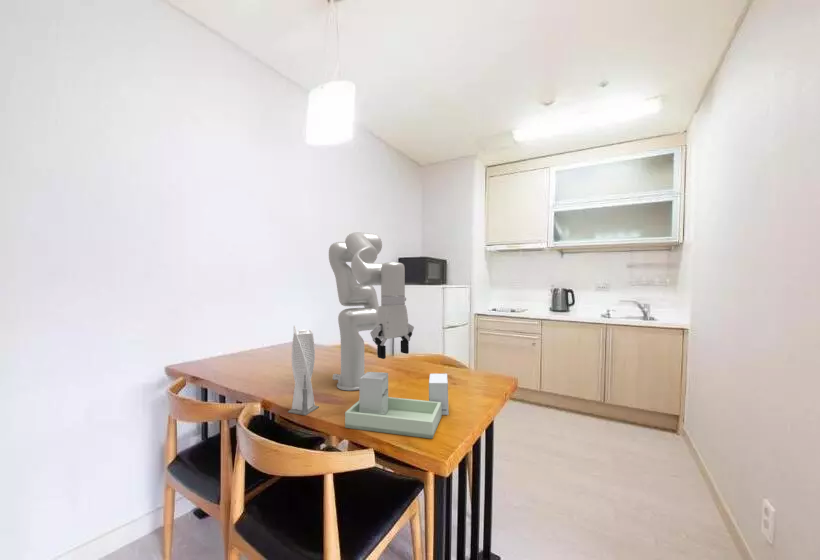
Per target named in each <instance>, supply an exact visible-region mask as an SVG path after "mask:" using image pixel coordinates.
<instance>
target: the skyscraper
mask: <svg viewBox="0 0 820 560" xmlns="http://www.w3.org/2000/svg"><path fill="white" fill-rule="evenodd" d="M291 343H292V344H291V368H292V370H291V371H292V375H293V379H294V387H293V388H294V390H293V397H292V404H291V409H290V410H288V411H287V413H289V414H295V415H300V416H308V415H309V414H311V413H312V412H314V411H315V410H317V409H318V408H319V407H320V406H319V405H316V404H315V403H316V402H315V398H314V392H313V384H312V376H313V373H314V366H315V359H316V349H315V339H314V332H313V330H312V329H311V328H310V329H309V330H308V329H299V330H297V326H296V325H293V335H292V342H291ZM310 412H311V413H310Z"/></svg>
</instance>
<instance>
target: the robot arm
mask: <svg viewBox="0 0 820 560" xmlns="http://www.w3.org/2000/svg"><path fill="white" fill-rule="evenodd" d="M382 249H383V241H382V239H381V237H380V236H379V235H378V234H377V233H368V232H352V233H349V234H348V235H347V236H346V238H345V241H338V242H333V243H331V245H330V246H329V248H328V260H329V265H330V268H331V270H332V272H333V274H334V277H335V283H336V284H335V285H336V290H337V291H336V292H337V297H338V301H339V303H340V305H341V306H343V307H349V308H345V309H343V310H341V311H340V312H339V313H338V316H337V317H338V318H337V319H338V320H337V322H338V327H339V335H340V374H338V373H333V374H332V380H333V381H337V383H336V387H337V389H339V390H343V391H347V392H348V391H349V392H350V391H359V378H361V377H362V376H363V375H364V374H365V340H364V338H363V337H362V336H361V335H360V333H359V332H364V331H365V332H366V331H370V333H369V334H370V336H371V338H372V341H373V342H374V344H375V345H376V349H377V354H376V355H377V358H378V359H382V360H385V359H386V358H387V357H386V356H387V353H386V352H387V351H386V350H387V349H386V348H387V346H386V345H385V344H386V342H387V341H388V340H390V339H396V338H400V339H401V340H400V353H402V354H406V355H407V354H409V352H410V351H409V348H410V347H409V346H410V345H409V344H410V343H409V342H410V341H411V337H412V335H413V331H414V329H415V327H414V325H412V324H410V323H409V318H408V310H407V305H406V301H407V297H405V296H406V295H405V294H406V290H405V289H406V288H405V287H406V285H405V283H406V282H405V281H406V280H405V279H406V278H405V277H406V275H405V274H406V273H405V264H404V263H402V262H396V261H395V262H391V261H390V262H384V263H383V262H376V260H377V258H378V255H379V254H380V253H381V251H382ZM348 263H350V265H349V264H348ZM374 286H380V300H381V301H380V302H381V304H380V305H379V300H378V296H377V290H376V288H375V287H374Z"/></svg>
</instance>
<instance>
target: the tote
mask: <svg viewBox="0 0 820 560" xmlns="http://www.w3.org/2000/svg"><path fill="white" fill-rule="evenodd" d="M442 416H443V415H442V402H434V401H429V400H421V399H414V398H413V399H412V398H402V397H401V398H400V397H393V396H388V412H387V413H386V415H377V414H369V413H360V412H359V400H358V401H356V402H355V403H354V404H353V405H352V406H350V407H349V409H347V410H346V411H345V412H344V428H345V429H352V430H353V429H354V430H360V431H368V432H369V431H370V432H375V433H377V432H378V433H385V434H393V435H399V436H406V437H407V436H408V437H416V438H424V439H430V440H431V439H434V436H435V433H436V431H437V429H438V426H439V425H440V421H441V419H442Z"/></svg>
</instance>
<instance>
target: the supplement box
mask: <svg viewBox="0 0 820 560" xmlns="http://www.w3.org/2000/svg"><path fill="white" fill-rule="evenodd" d="M358 393H359V394H358V395H359V399H358V401H359V412H360V413H369V414H377V415H386V413H387V412H388V397H389V373H388V372H382V371H381V372H377V371H376V372H375V371H366V372H364V375H363V376H362V377H361V378H359V390H358Z"/></svg>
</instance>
